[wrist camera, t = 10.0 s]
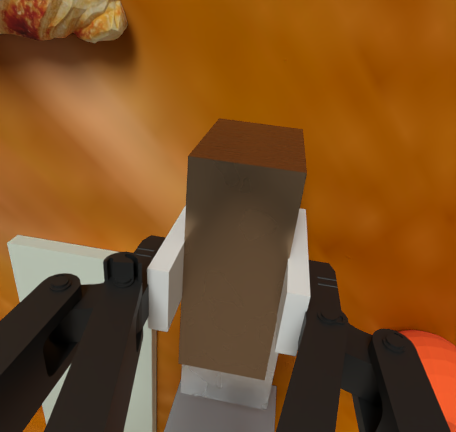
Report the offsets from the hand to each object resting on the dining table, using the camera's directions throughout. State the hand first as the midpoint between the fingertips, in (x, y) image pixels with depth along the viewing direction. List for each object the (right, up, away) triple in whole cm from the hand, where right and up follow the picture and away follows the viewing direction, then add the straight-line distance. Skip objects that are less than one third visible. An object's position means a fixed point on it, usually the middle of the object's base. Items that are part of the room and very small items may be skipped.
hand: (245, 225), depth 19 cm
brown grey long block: (0, -4, +4) cm, 5 cm away
